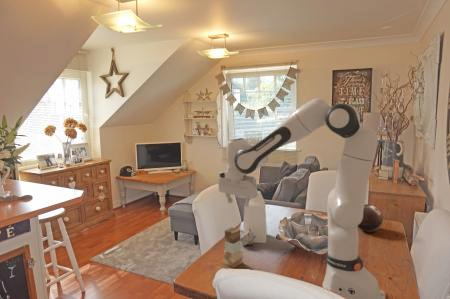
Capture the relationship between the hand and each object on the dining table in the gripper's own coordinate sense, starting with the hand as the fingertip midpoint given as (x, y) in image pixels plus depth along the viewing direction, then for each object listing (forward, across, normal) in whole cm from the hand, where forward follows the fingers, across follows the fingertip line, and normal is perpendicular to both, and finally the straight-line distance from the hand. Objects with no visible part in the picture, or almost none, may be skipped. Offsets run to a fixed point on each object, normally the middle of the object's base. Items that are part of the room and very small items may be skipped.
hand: (238, 204), depth 145 cm
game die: (+28, +9, -16) cm, 33 cm away
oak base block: (+28, +2, +3) cm, 28 cm away
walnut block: (+17, +2, +3) cm, 17 cm away
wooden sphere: (+29, -33, -74) cm, 86 cm away
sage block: (+22, +2, +3) cm, 22 cm away
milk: (+28, +11, -26) cm, 40 cm away
